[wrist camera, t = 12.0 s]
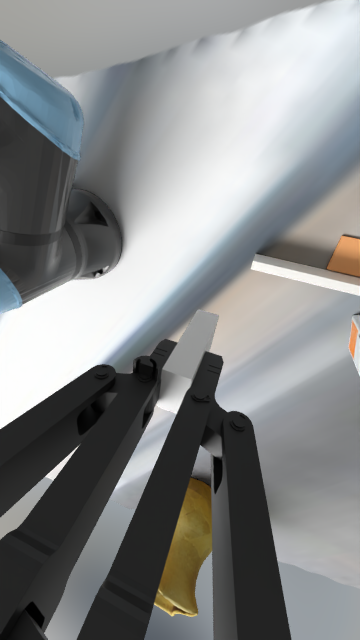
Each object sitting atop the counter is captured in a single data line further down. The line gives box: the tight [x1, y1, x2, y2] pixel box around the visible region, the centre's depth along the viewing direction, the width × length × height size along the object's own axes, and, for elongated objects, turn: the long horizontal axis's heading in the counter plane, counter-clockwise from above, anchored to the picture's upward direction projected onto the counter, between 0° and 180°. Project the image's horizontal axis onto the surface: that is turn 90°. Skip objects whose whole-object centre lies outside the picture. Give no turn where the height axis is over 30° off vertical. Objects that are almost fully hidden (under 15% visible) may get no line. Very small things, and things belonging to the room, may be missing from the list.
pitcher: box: [154, 478, 212, 617], centre depth 65 cm, size 17×19×25 cm
